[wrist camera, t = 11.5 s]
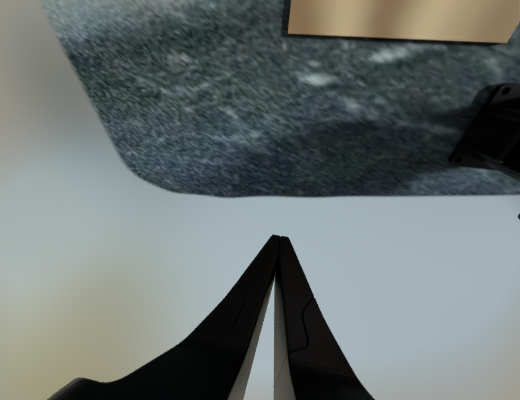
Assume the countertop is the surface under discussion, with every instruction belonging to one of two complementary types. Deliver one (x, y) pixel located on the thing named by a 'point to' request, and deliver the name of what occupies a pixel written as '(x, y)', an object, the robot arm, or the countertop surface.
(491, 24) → the cork mat
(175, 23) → the countertop surface
